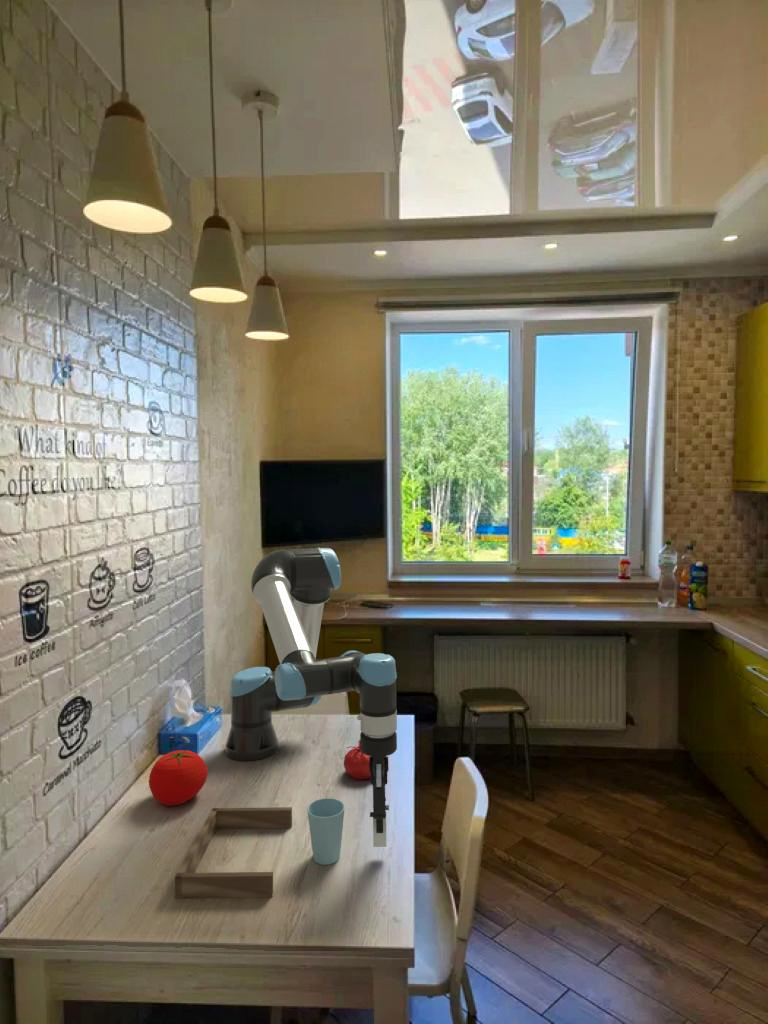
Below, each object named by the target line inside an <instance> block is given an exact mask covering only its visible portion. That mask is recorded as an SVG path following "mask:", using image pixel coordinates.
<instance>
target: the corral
mask: <svg viewBox="0 0 768 1024" xmlns="http://www.w3.org/2000/svg"><path fill="white" fill-rule="evenodd" d="M292 827H293V807H291V806H290V807H289V806H286V807H282V806H281V807H280V806H279V807H221V808H220V807H218V808H217V807H212V809H211V811H210V812H209V813H208V816H207V818H206V820H205V821H204V824H203V825H202V827H201V829H200V831H199V832H198V834H197V836H196V838H195V839H194V841H193V843H192V846H191V847H190V848H189V851H188V852H187V855H186V856H185V858H184V860H183V861H182V864H181V866H180V867H179V868H178V871H177V873H176V874H175V876H174V886H175V887H174V891H175V893H174V894H175V899H212V898H213V899H215V898H216V899H217V898H218V899H220V898H221V899H222V898H223V899H225V898H226V899H227V898H228V899H231V898H233V899H235V898H237V899H238V898H273V896H274V871H248V872H247V871H238V872H237V871H234V872H228V871H227V872H196V871H197V869H198V867H199V866H200V863H201V861H202V859H203V857H204V855H205V853H206V851H207V848H208V847H209V845H210V843H211V841H212V839H213V838H214V835H215V833H216V831H217V829H272V828H273V829H285V828H286V829H287V828H291V829H292Z"/></svg>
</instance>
